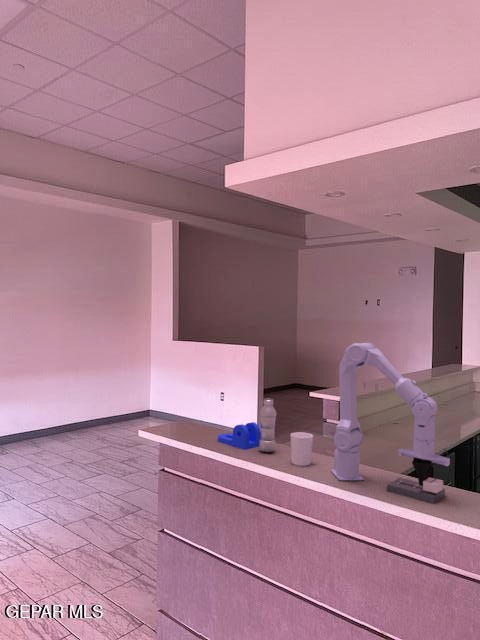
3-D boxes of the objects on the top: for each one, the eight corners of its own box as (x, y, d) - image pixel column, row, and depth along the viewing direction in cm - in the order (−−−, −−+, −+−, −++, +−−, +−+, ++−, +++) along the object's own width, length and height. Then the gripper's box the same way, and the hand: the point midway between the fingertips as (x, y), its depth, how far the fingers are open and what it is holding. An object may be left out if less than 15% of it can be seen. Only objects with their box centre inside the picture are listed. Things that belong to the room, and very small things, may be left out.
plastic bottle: (275, 449, 189) (277, 398, 189) (275, 454, 183) (276, 401, 182) (259, 448, 190) (260, 397, 190) (257, 453, 183) (259, 400, 183)
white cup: (285, 461, 175) (286, 433, 175) (303, 458, 179) (304, 431, 179) (298, 467, 168) (298, 438, 168) (316, 464, 172) (317, 436, 172)
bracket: (259, 446, 194) (260, 423, 194) (244, 450, 188) (245, 426, 188) (228, 437, 207) (228, 416, 207) (213, 440, 201) (214, 418, 201)
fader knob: (422, 489, 142) (423, 481, 142) (429, 485, 146) (429, 477, 146) (436, 493, 140) (437, 484, 140) (443, 489, 144) (443, 480, 143)
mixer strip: (386, 490, 148) (386, 484, 148) (399, 483, 154) (399, 477, 154) (433, 503, 138) (434, 496, 138) (444, 495, 145) (445, 488, 145)
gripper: (453, 441, 143) (452, 487, 143) (405, 432, 153) (404, 475, 153) (445, 445, 138) (444, 493, 138) (396, 436, 147) (394, 481, 147)
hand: (422, 484), depth 145 cm, fingers closed
